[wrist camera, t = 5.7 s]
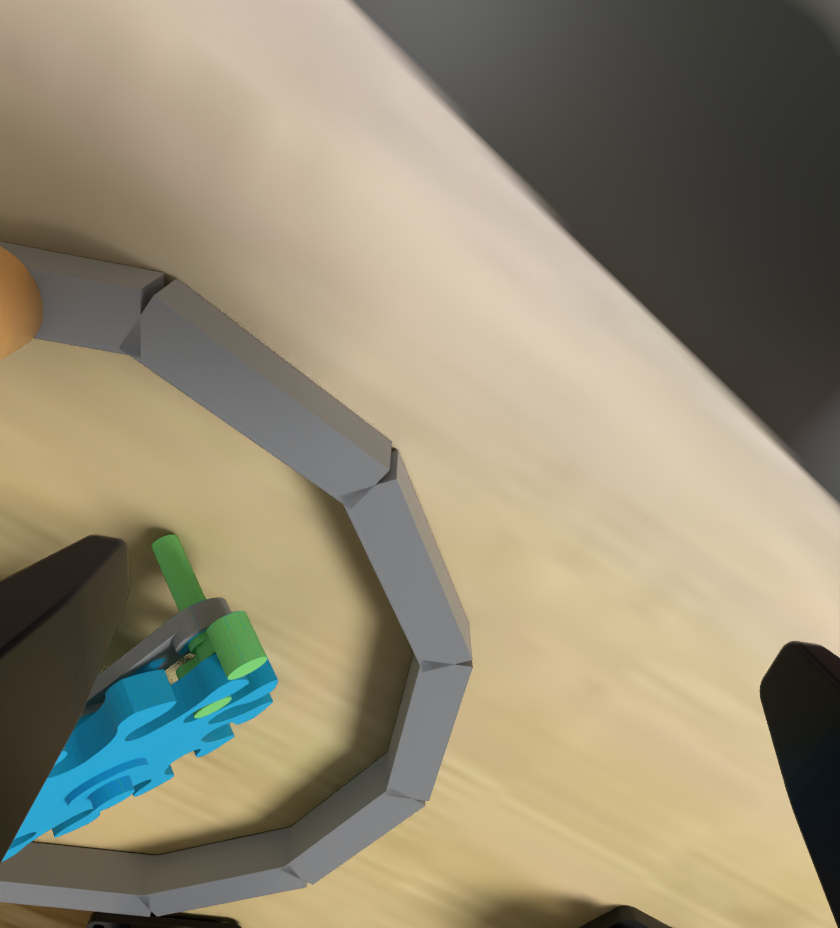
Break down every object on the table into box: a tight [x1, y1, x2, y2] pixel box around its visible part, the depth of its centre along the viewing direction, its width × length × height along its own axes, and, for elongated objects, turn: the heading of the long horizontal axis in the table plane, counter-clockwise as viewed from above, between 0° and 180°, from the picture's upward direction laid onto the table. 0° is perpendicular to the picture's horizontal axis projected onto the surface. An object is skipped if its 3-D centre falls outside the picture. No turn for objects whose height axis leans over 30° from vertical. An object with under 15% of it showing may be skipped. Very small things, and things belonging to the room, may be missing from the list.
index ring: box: [0, 242, 473, 917], centre depth 18 cm, size 26×25×4 cm
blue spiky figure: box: [2, 535, 278, 862], centre depth 18 cm, size 11×6×10 cm
